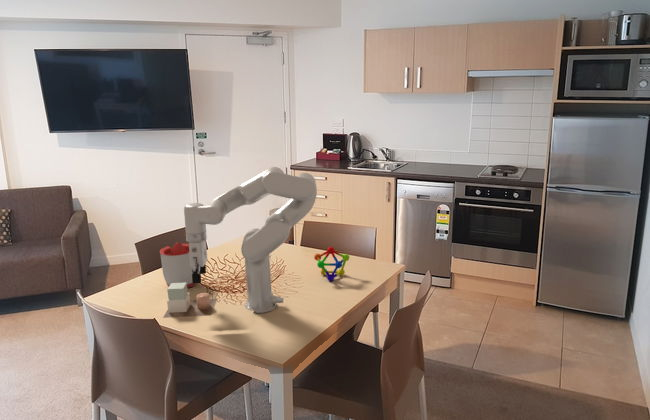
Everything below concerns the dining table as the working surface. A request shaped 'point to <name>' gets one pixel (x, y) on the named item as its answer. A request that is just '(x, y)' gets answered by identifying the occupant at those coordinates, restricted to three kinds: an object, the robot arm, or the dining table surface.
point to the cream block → (179, 305)
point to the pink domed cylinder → (203, 301)
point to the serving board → (193, 310)
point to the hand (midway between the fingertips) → (199, 278)
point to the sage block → (177, 291)
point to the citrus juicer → (177, 264)
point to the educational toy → (337, 264)
